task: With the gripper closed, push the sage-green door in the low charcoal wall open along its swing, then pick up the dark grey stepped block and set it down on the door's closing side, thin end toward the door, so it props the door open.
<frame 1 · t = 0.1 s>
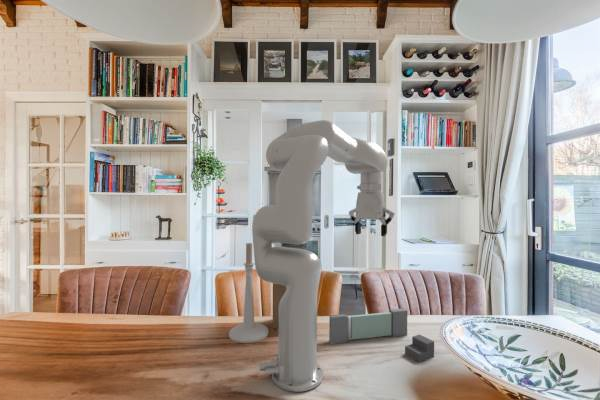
hand: (370, 234, 111), 31 cm above the table, tool pointing down, fingers open, 9 cm apart
dark grey stepped block: (419, 356, 85), on the table
door: (368, 325, 96), point 4 cm above the table, hinge at 0.0°
door frame: (369, 337, 96), on the table
candlestick: (248, 334, 99), on the table
wooden block: (288, 325, 106), on the table
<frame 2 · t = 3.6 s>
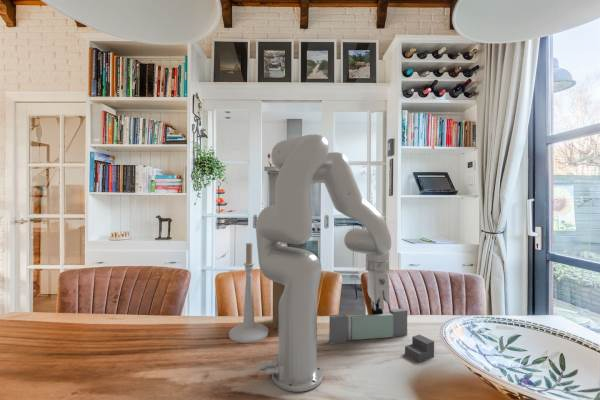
hand: (377, 321, 99), 4 cm above the table, tool pointing down, fingers closed
door: (369, 326, 95), point 4 cm above the table, hinge at 5.2°, touching gripper
everything else where it was.
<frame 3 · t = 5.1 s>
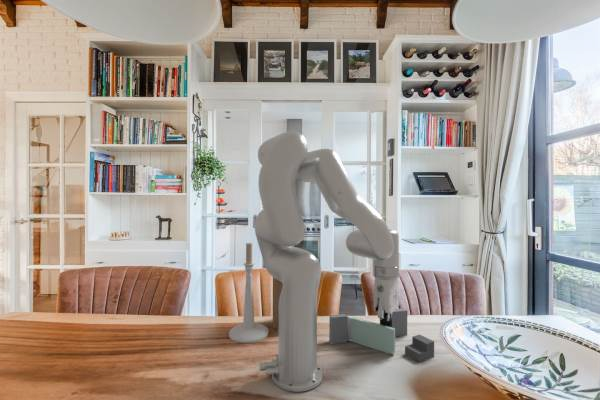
hand: (386, 332, 90), 4 cm above the table, tool pointing down, fingers closed
door: (369, 334, 90), point 4 cm above the table, hinge at 51.5°, touching gripper
everything else where it was.
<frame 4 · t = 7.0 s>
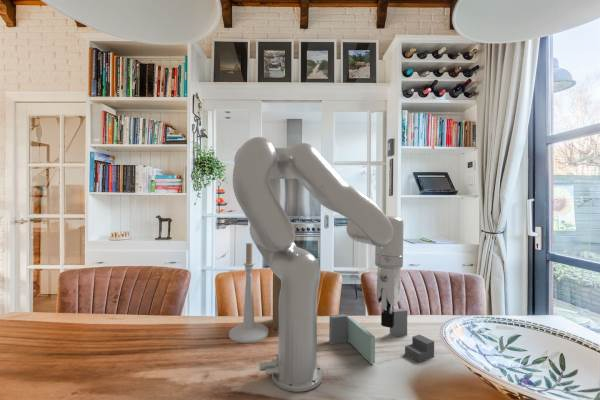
hand: (387, 325, 84), 9 cm above the table, tool pointing down, fingers closed
door: (359, 337, 87), point 4 cm above the table, hinge at 87.0°
everything else where it was.
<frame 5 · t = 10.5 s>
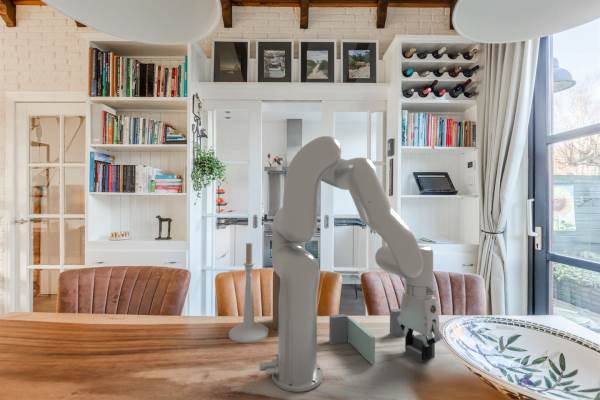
hand: (418, 353, 85), 1 cm above the table, tool pointing down, fingers closed on dark grey stepped block, 5 cm apart
dark grey stepped block: (420, 355, 85), on the table, touching gripper
everything else where it was.
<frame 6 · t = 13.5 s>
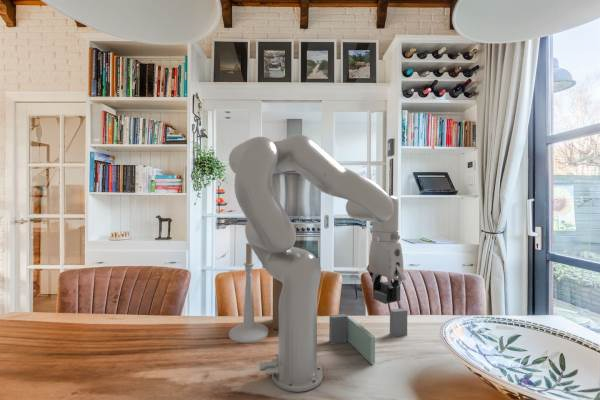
hand: (384, 297, 89), 15 cm above the table, tool pointing down, fingers closed on dark grey stepped block, 5 cm apart
dark grey stepped block: (386, 299, 90), point 14 cm above the table, touching gripper
everything else where it was.
when the fingers open (2 cm above the table, at t = 16.2 s): dark grey stepped block drops 1 cm, on the table.
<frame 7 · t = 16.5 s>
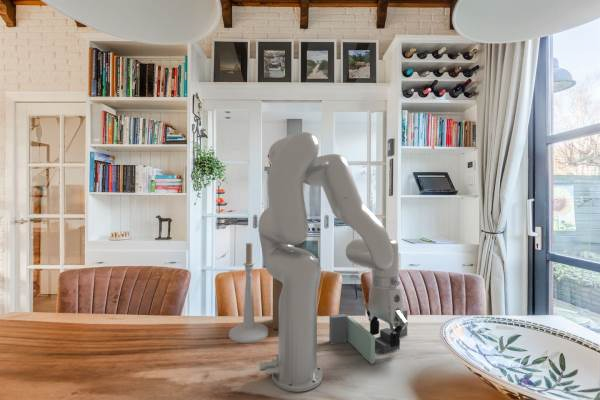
hand: (384, 339, 89), 2 cm above the table, tool pointing down, fingers open, 7 cm apart
dark grey stepped block: (385, 348, 90), on the table
everything else where it was.
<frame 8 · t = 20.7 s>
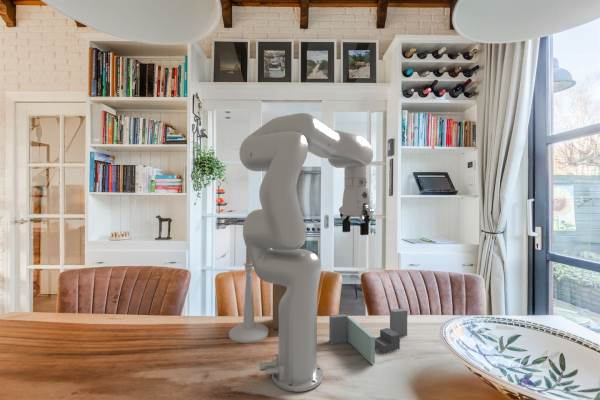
hand: (355, 233, 104), 32 cm above the table, tool pointing down, fingers open, 9 cm apart
nothing on the table moved.
at the end: door at +87° (first picture: +0°); dark grey stepped block inside the target area on the table beside the door (1.6 cm from its centre), on the table; dark grey stepped block tilted 0° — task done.
